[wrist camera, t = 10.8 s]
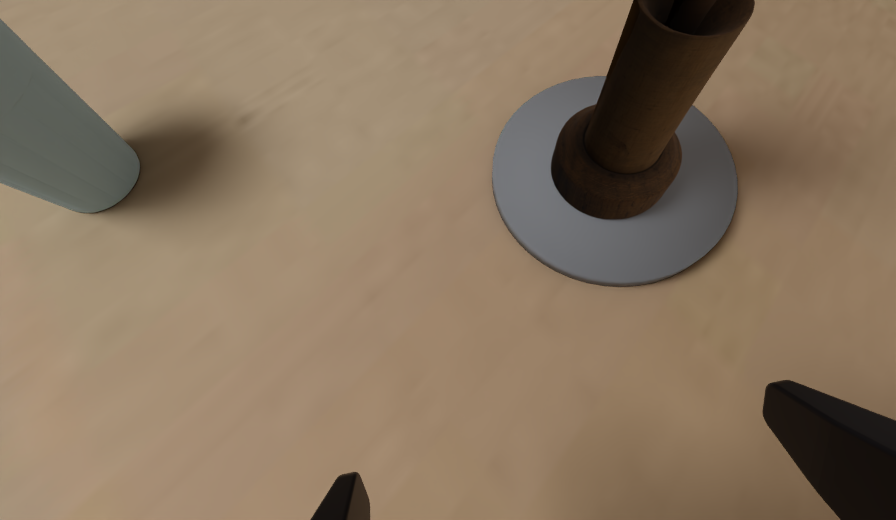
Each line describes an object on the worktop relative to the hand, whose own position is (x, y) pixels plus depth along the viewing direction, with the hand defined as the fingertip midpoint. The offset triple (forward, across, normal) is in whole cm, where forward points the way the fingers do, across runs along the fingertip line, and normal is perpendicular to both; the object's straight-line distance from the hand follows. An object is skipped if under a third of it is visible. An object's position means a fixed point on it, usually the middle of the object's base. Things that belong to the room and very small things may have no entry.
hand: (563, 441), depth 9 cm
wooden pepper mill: (+18, -9, 0) cm, 20 cm away
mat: (+18, -9, 0) cm, 20 cm away
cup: (+24, +24, -6) cm, 34 cm away
